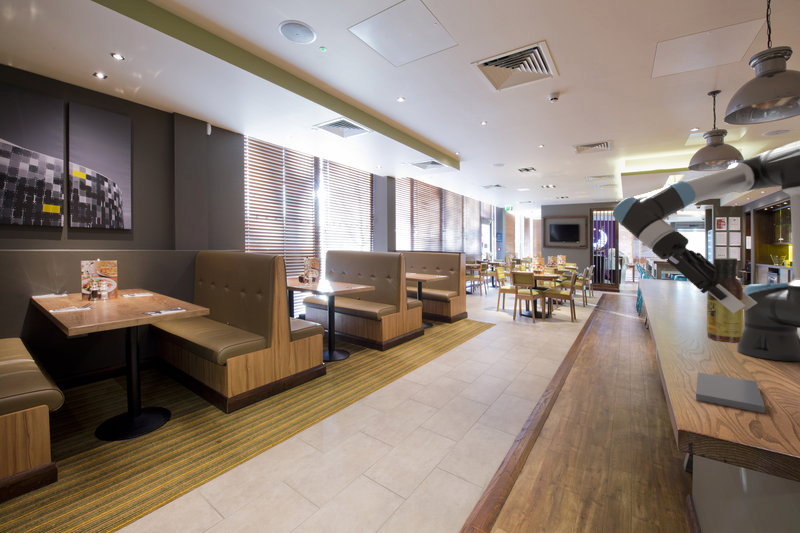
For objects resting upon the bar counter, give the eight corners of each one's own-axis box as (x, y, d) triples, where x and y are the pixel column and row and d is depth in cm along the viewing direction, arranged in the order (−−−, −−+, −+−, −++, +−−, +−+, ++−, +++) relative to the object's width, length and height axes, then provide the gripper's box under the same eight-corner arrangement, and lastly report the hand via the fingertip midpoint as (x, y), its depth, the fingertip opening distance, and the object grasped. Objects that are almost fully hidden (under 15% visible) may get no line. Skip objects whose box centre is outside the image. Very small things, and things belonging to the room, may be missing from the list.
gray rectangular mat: (697, 377, 93) (697, 372, 93) (756, 387, 86) (756, 381, 86) (696, 400, 80) (696, 393, 80) (764, 413, 73) (764, 406, 72)
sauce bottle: (706, 336, 87) (706, 258, 87) (740, 339, 83) (741, 257, 83) (707, 341, 82) (708, 258, 82) (744, 345, 78) (745, 258, 78)
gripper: (670, 250, 100) (746, 313, 86) (633, 251, 91) (712, 322, 77) (692, 230, 95) (777, 294, 81) (656, 229, 86) (744, 301, 72)
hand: (745, 308), depth 79 cm, fingers closed on sauce bottle, 6 cm apart
